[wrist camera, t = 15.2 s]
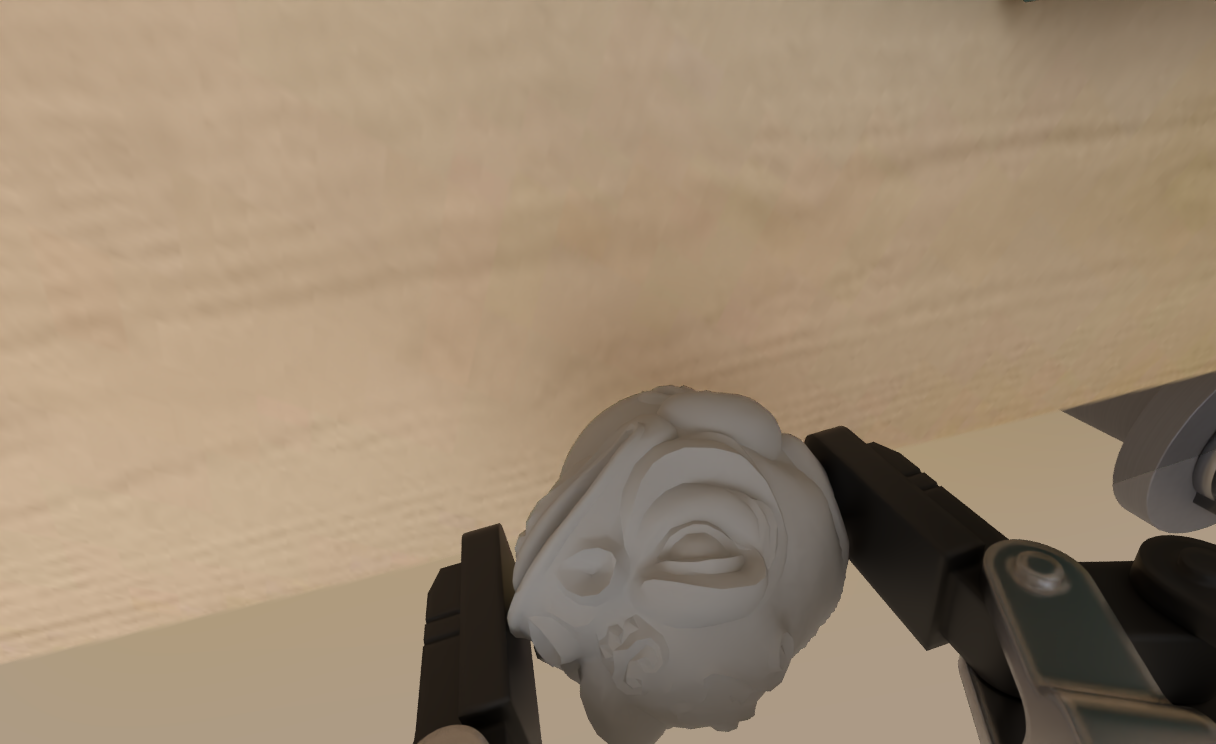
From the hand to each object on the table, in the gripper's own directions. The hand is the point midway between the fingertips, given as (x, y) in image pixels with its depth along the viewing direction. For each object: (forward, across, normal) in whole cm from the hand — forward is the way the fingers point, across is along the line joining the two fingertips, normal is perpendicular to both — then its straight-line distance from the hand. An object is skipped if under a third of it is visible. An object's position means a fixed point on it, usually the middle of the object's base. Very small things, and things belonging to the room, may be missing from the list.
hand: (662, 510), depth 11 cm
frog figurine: (+3, 0, 0) cm, 3 cm away
